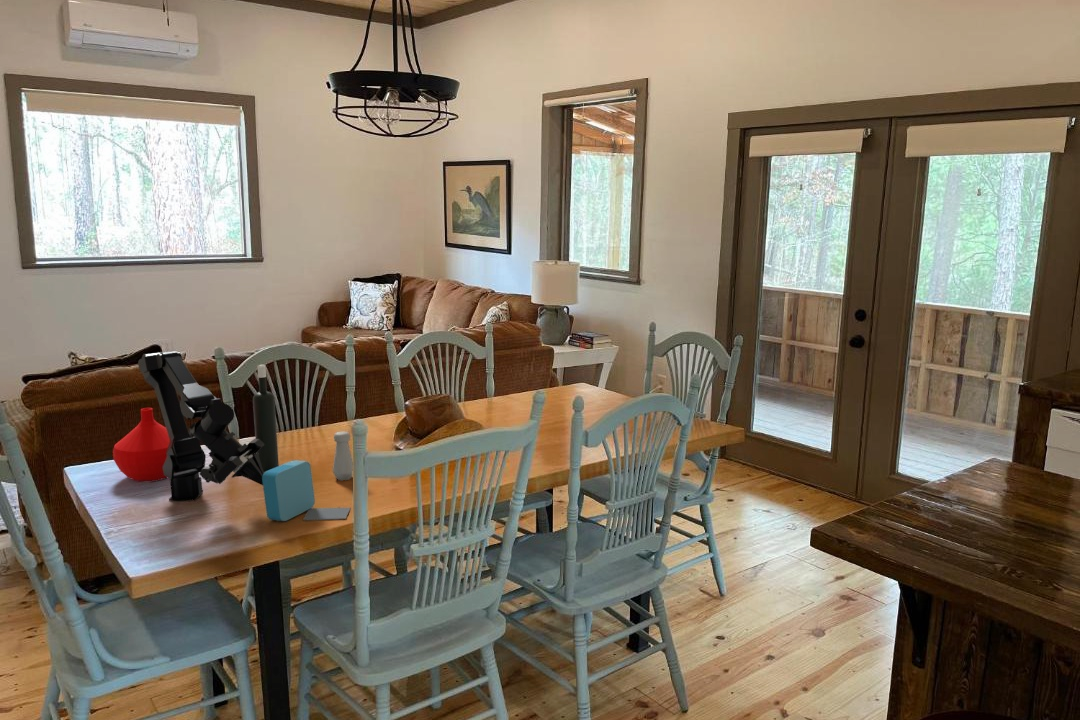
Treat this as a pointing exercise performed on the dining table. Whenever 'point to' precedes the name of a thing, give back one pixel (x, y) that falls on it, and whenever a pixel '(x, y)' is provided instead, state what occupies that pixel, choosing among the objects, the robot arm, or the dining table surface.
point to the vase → (143, 450)
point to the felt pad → (326, 513)
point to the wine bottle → (265, 423)
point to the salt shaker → (342, 456)
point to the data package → (288, 490)
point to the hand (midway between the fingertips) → (266, 484)
